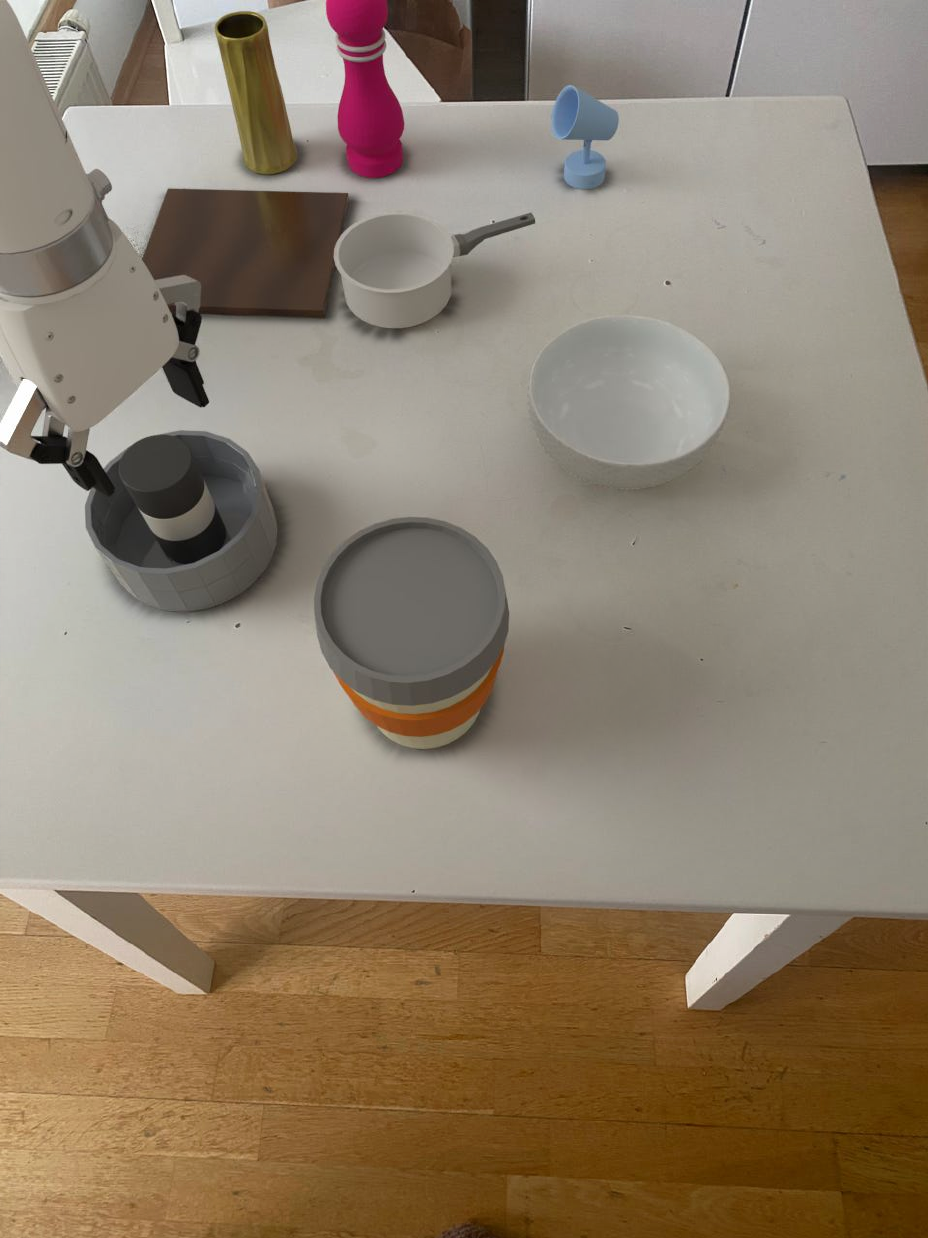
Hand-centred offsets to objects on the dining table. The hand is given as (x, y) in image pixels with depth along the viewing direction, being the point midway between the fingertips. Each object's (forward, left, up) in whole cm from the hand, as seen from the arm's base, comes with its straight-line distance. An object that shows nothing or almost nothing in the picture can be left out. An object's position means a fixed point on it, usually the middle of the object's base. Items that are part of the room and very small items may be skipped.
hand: (146, 440), depth 65 cm
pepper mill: (+9, +52, -13) cm, 55 cm away
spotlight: (+32, +50, -13) cm, 61 cm away
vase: (-3, +52, -13) cm, 54 cm away
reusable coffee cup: (+21, -13, -13) cm, 28 cm away
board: (-3, +36, -13) cm, 39 cm away
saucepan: (+18, +32, -13) cm, 39 cm away
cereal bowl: (+36, +13, -13) cm, 40 cm away
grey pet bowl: (0, 0, -13) cm, 13 cm away
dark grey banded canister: (0, 0, -13) cm, 13 cm away
